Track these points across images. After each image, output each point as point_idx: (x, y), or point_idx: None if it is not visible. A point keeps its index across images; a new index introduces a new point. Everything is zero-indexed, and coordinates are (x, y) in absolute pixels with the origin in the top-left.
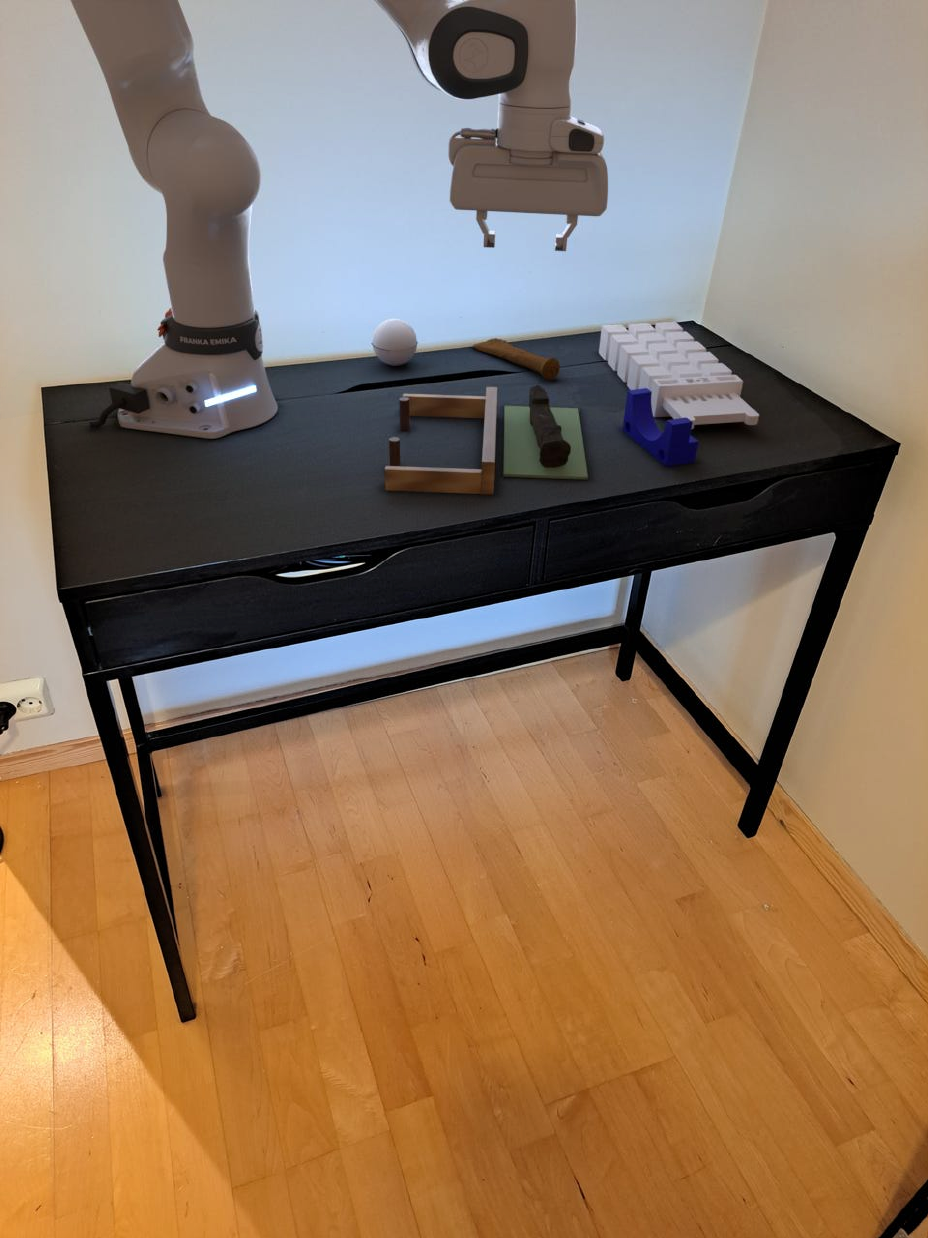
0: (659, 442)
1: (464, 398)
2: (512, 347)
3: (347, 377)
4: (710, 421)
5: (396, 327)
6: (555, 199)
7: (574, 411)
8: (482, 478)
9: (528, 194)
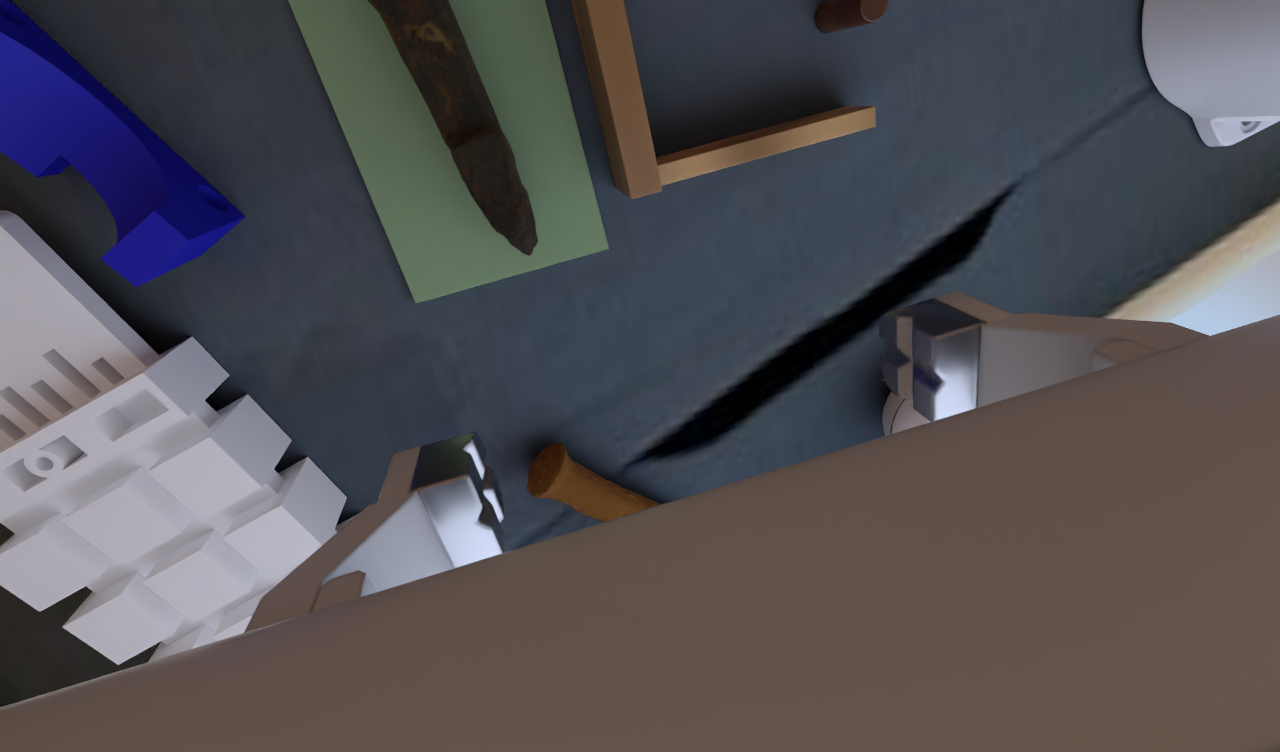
0: (3, 26)
1: (710, 151)
2: None
3: (1000, 287)
4: None
5: None
6: (462, 685)
7: (417, 278)
8: None
9: (885, 593)
